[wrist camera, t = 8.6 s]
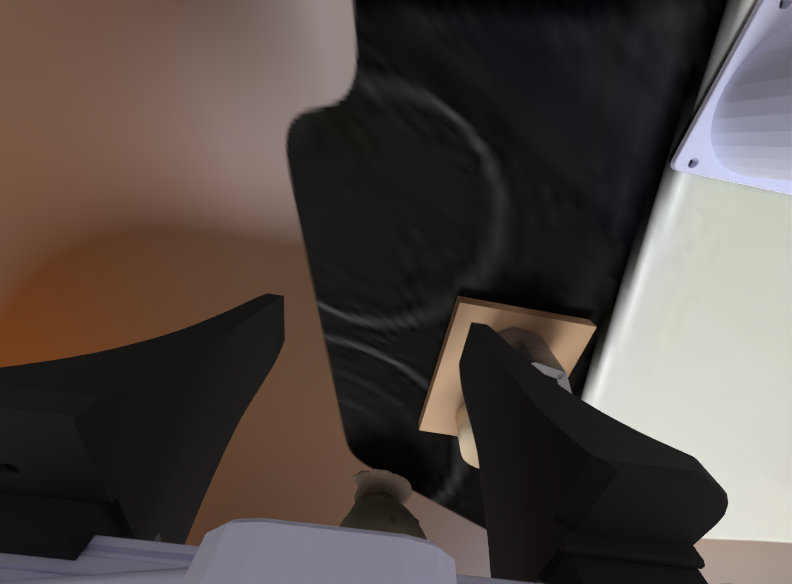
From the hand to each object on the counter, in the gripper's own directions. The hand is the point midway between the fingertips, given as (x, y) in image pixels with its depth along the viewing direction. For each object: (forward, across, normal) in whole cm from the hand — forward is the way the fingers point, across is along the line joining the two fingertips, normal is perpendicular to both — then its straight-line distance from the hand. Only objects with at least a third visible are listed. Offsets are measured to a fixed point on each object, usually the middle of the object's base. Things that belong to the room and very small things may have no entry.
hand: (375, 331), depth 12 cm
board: (+10, -10, +9) cm, 17 cm away
